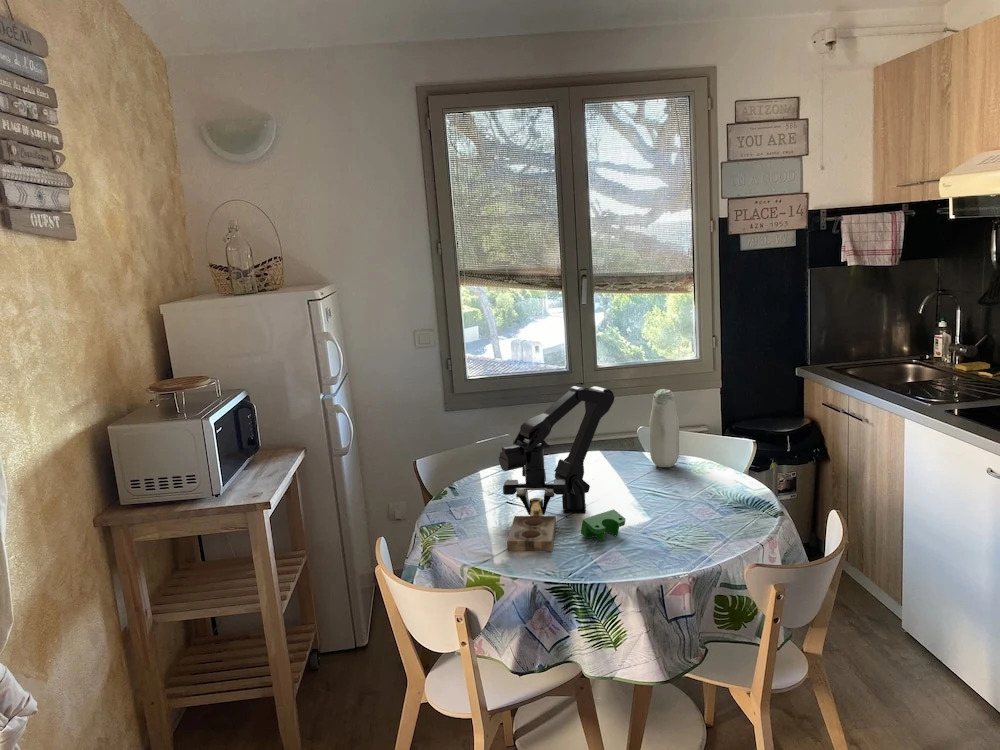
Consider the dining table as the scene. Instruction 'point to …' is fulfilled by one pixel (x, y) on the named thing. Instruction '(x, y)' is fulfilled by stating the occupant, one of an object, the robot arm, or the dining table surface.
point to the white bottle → (664, 429)
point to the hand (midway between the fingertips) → (536, 514)
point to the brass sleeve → (536, 507)
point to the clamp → (602, 524)
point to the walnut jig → (532, 533)
